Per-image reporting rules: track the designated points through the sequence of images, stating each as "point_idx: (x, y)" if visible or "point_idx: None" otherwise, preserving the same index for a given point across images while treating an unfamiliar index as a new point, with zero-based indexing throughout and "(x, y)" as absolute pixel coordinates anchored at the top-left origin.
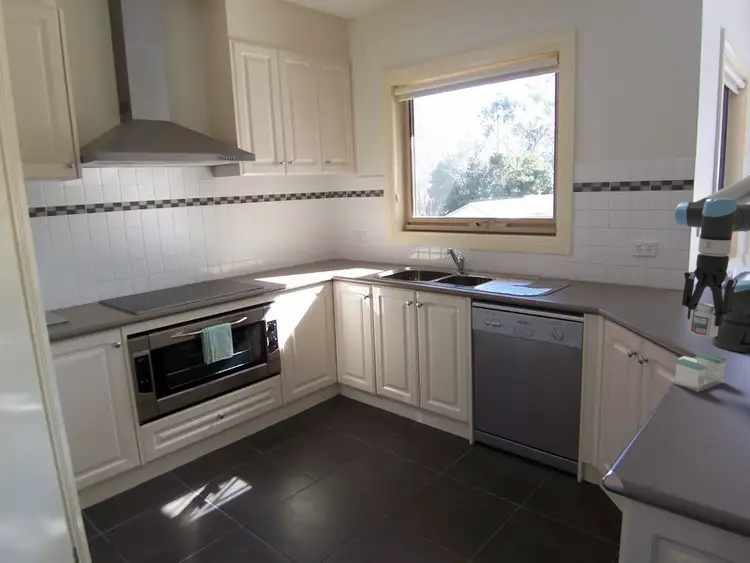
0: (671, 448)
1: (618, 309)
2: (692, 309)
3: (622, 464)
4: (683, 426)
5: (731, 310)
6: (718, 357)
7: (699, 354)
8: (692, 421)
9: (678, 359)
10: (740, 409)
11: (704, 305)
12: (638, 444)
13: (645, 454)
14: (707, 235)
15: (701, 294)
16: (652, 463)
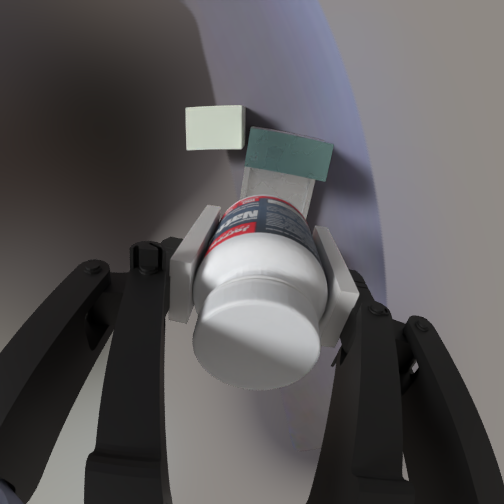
0: (320, 415)
1: None
2: (169, 308)
3: (293, 444)
4: (317, 380)
5: (435, 339)
6: (309, 144)
7: (250, 160)
8: (324, 363)
9: (188, 149)
10: (380, 275)
11: (256, 377)
12: (291, 425)
13: (303, 430)
14: None
15: (159, 382)
16: (313, 434)
